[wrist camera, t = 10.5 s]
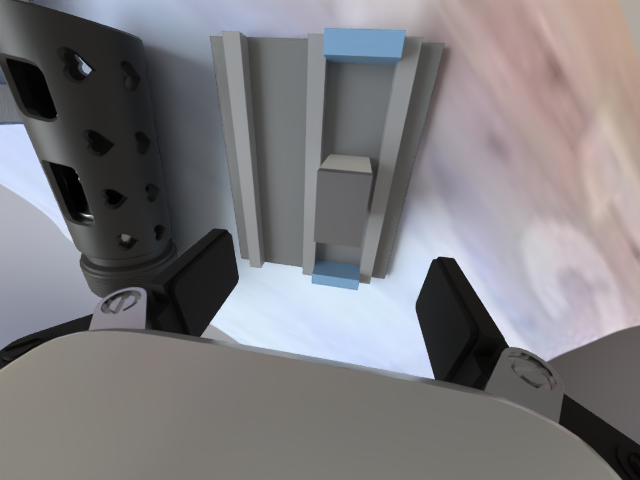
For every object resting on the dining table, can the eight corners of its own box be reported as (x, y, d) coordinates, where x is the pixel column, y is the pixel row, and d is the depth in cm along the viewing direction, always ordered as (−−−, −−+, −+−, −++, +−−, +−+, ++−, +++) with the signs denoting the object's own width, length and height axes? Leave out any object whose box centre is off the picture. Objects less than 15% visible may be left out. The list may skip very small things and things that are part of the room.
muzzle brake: (178, 49, 22) (52, 6, 13) (198, 270, 36) (145, 321, 27) (87, 28, 22) (-96, -29, 13) (143, 255, 36) (72, 301, 28)
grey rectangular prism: (330, 153, 23) (317, 170, 16) (369, 157, 23) (372, 176, 16) (325, 208, 26) (313, 241, 19) (360, 212, 26) (360, 247, 19)
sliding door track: (216, 39, 21) (187, 24, 17) (440, 46, 19) (458, 31, 15) (244, 254, 33) (230, 271, 29) (383, 274, 31) (386, 294, 27)
